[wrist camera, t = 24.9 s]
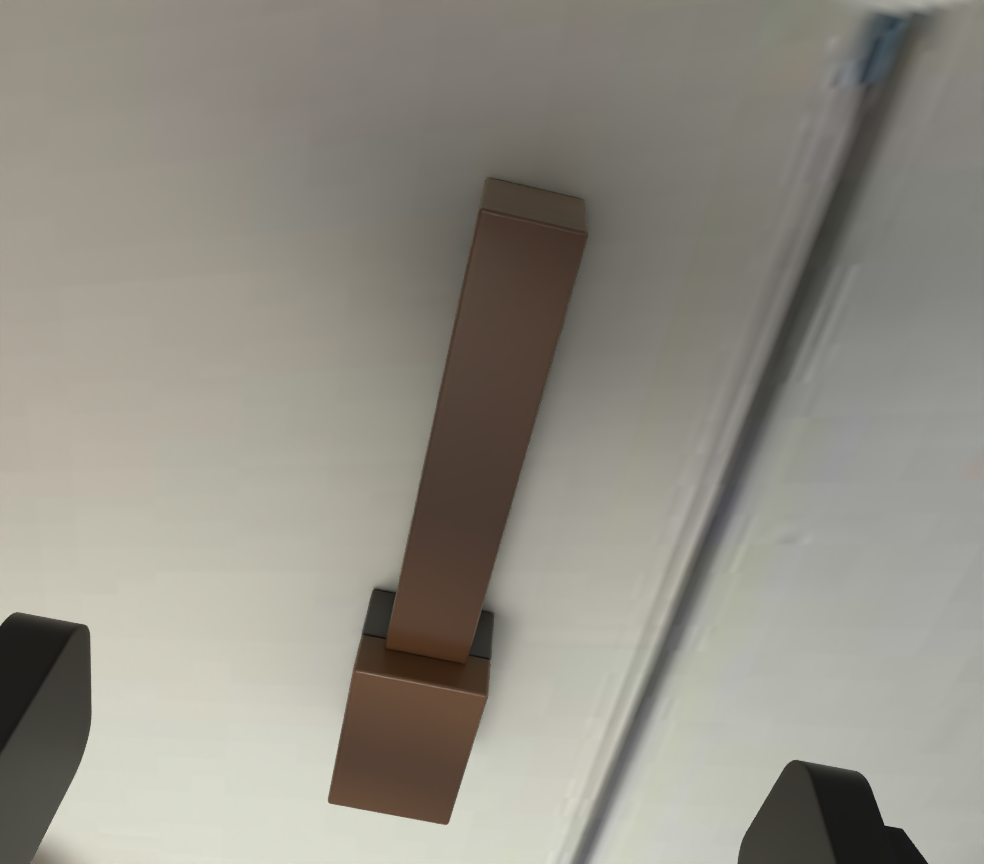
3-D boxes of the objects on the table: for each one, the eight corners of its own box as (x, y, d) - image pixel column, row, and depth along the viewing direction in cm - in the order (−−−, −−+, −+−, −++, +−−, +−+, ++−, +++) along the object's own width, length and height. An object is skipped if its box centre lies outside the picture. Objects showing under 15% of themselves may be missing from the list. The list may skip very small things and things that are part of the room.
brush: (456, 169, 18) (441, 214, 16) (614, 206, 18) (625, 257, 16) (346, 719, 26) (326, 804, 24) (457, 740, 27) (448, 827, 24)
